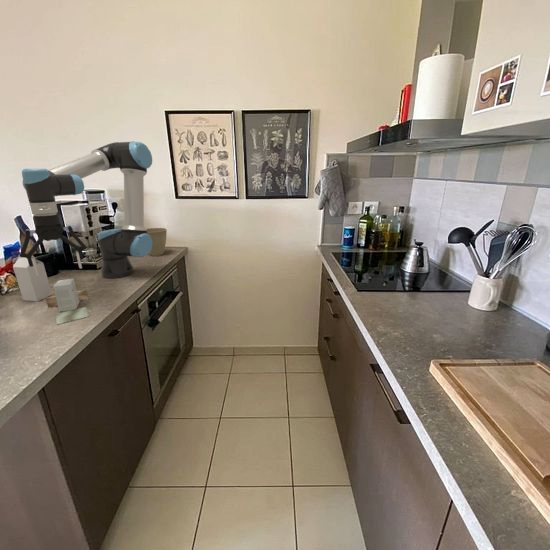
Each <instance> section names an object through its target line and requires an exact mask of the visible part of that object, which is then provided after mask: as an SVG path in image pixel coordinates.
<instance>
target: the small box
mask: <svg viewBox="0 0 550 550" xmlns="http://www.w3.org/2000/svg"><path fill="white" fill-rule="evenodd" d="M52 288H53V292H54V296H56V299H57V303H58V306H57V307H58V310H59V313H62V312H66V311H70V310H75V309H78V306H79V304H80V301H79V298H78V294H77V291H78V290H77V287H76V283H75V279H74V278H68V279H67V278H66V279H61V280H57V281H56V282H55V283H54V285H53V286H52Z"/></svg>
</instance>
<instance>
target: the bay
mask: <svg viewBox="0 0 550 550" xmlns="http://www.w3.org/2000/svg"><path fill="white" fill-rule="evenodd" d="M77 294H78V298H79V302H81V301H80V300H82V301H86V300H89V296H88V295H89V294H88V291H87V289H83V290H77ZM44 299H45V302H46V305H47V309H50V308H54V307H53V306H55V307H58V303H57V299H56V296H55V295H54V296H52V295H51V296H48V297H46V298H44ZM85 299H86V300H85ZM49 307H50V308H49ZM89 316H90V314H89V311H88V309H87V306H84V307H80V308H76V309H75V310H69V311H63V312H58V313H55V320H56V324H57V326H59V325H63V324H66V323H65V322H67V323H70V322H69V321H71V322H73V320H75V321H78V320H77V319H79V320H81V318H83V319H85V318H84V317H87V318H90V317H89ZM62 323H63V324H62ZM58 324H59V325H58Z"/></svg>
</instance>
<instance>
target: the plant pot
mask: <svg viewBox="0 0 550 550" xmlns="http://www.w3.org/2000/svg"><path fill="white" fill-rule="evenodd" d="M146 229H147V234H148V235H150V237H151V238H152V248H151V251H150V252H149V254H150V256H152V257H159V256H162V255H164V252H165V249H166V242H167V230H168V229H167V228H164V227H153V228H151V227H150V228H146Z"/></svg>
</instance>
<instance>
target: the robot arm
mask: <svg viewBox="0 0 550 550" xmlns="http://www.w3.org/2000/svg"><path fill="white" fill-rule="evenodd" d="M90 152H91V153H90V154H87V155H85V156H82V157H78V158H76V159H73V160H71V161H69V162H66V163H63V164H61V165H58V166H55V167H52V168H50V169H47V168H24V169H22V170H21V177H22V186H23V189H25V192H26V195H27V199H28V203H29V208H30V211H31V214H32V215H33V216H32V218H33V222H34V225H35V229H28V228H27V229H25V238H24V241H23V244H22V246H21V249H20V253H19V255H20V257H25V258H27V259H28V263H29V266H30V267H32V266H34V270H35V273H36V276H37V275H39V273H38V269H37V266H36V262H35V258H36V257H35V256H34V254H35V252H36V251H37V249H39V246H41V244H42V243H43V241H47V242H49V241H57V240H59V239H60V240H61V241H63V242H65V243H67V244H68V245H69V246H71V247H72V248H73V249H75V256H76V260H77V264H78V268H79V269H83V266H82V262H81V260H84V255H83V251H84V250H86V249H87V248H88V247H87V246H86V245H85V243H84V242H83V241H82V239H80V238H79V236H78V235H77V234H76V233H75V232H74V230H73V227H72V226H71V225H67V226H64V227H63V226H62V224H61V220H60V216H59V214H58V213H59V210H58V207H57V202H56V197H59V196H76V195H81V194H83V193H84V191H85V182H84V180H83V179H84V178H86V177H88V176H91V175H93V174H95V173H98V172H100V171H102V172H103V171H104V172H106V171H108V170H112V169H119V171H120V172H121V174H123V202H124V203H123V205H124V206H123V209H124V211H123V212H124V215H123V217H124V220H123V221H124V222H123V223H124V225H123V227H121V228H112V229H107V230H106V229H105V230H103V231H100V232H98V233H97V242H98V246H99V252H100V254H101V259H102V265H101V270H100V272H101V277H103V278H104V279H118V278H124V277H126V276H130V275H132V274H133V273H134V266H133V264H132V263H131V261H130V260H129V257H133V258H144V257H146V256H147V255H148V254H150V251H151V248H152V238H151V237H150V235H148V234H147V229H148V228H146V227H145V224H144V223H145V221H144V220H145V219H144V218H145V217H144V215H145V213H144V211H145V210H144V209H145V208H144V206H145V204H144V203H145V202H144V198H145V197H144V196H145V195H144V194H145V193H144V191H145V189H144V188H145V186H144V185H145V184H144V182H145V181H144V178H145V176H146V175H147V174H148V169H150V167H152V164H153V155H152V153H151V150H150V149H149V147H148V146H147V145H146V144H145V143H143V142H141V141H134V140H132V141H121V142H110V143H109V144H106V145H103V146H101V147H98V148H96V149H92V151H90ZM64 231H66V232H67V233H70V235H71V236H72V238H73V239H74V240H75V241H76V242H77V244H79V245H80V246H78V245H77V244H76V243H75V242H73V241H72V240H70V239H69V238H67V237H66V236H64V235H63V233H64ZM34 234H36V236H38V239H37V240H36V241H35V243H34V244H33V245H32V247H31V248H30V250H28V252H27V253H26V251H27V248H28V247H29V242H30V240H31V237H33V236H34ZM31 256H33V257H31Z"/></svg>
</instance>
